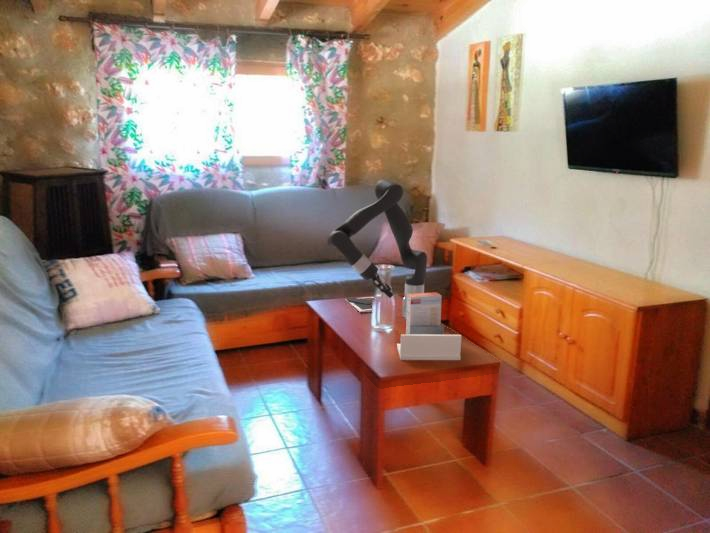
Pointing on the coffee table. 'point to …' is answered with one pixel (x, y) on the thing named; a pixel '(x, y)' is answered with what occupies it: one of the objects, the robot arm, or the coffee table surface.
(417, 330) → the bookend
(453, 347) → the book rack
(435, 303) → the cracker box
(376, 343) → the coffee table surface
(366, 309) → the picture frame
